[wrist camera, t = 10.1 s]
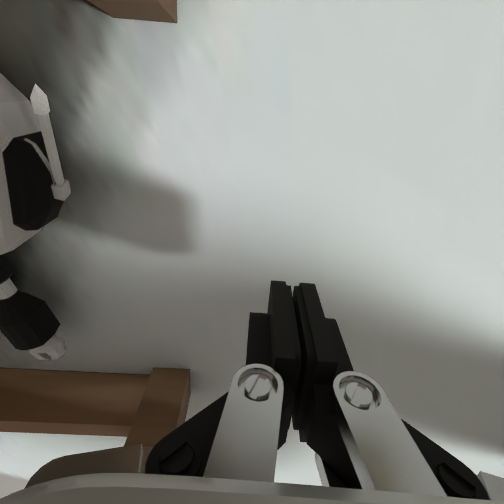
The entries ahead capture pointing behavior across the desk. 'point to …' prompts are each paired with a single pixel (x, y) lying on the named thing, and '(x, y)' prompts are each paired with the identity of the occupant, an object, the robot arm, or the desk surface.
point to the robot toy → (27, 212)
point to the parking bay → (100, 384)
